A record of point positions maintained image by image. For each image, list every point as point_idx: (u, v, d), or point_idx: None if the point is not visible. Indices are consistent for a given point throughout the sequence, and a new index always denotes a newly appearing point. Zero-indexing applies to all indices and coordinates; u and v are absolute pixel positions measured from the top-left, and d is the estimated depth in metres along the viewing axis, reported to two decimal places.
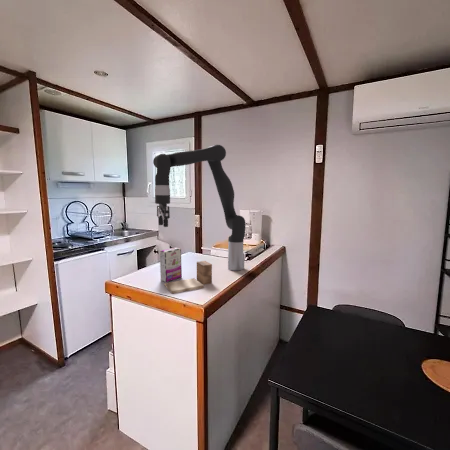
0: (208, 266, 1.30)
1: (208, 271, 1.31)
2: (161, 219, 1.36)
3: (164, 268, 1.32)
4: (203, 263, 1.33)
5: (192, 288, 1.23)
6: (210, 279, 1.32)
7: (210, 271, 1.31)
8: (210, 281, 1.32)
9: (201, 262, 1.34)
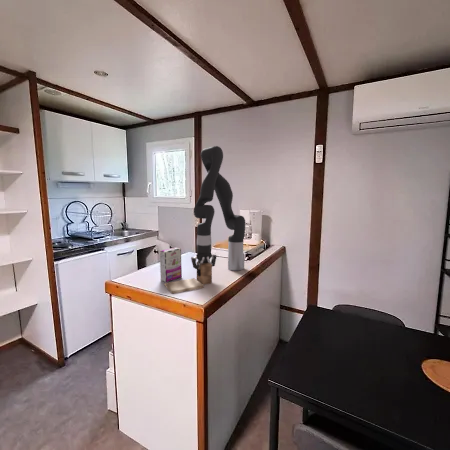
0: (208, 266, 1.30)
1: (208, 271, 1.31)
2: None
3: (164, 268, 1.32)
4: (203, 263, 1.33)
5: (192, 288, 1.23)
6: (210, 279, 1.32)
7: (210, 271, 1.31)
8: (210, 281, 1.32)
9: None
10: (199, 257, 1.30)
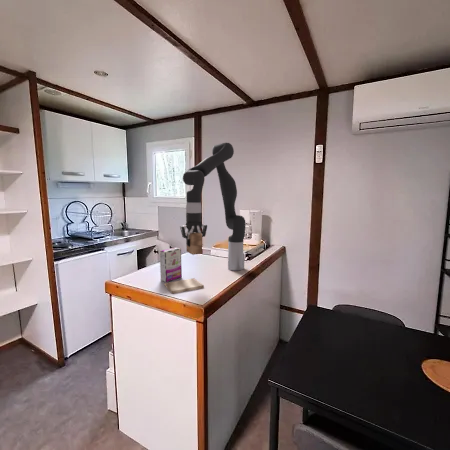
0: (198, 235, 1.24)
1: (198, 241, 1.24)
2: None
3: (164, 268, 1.32)
4: (193, 232, 1.26)
5: (192, 288, 1.23)
6: (200, 249, 1.25)
7: (200, 241, 1.24)
8: (200, 251, 1.25)
9: None
10: (188, 226, 1.24)
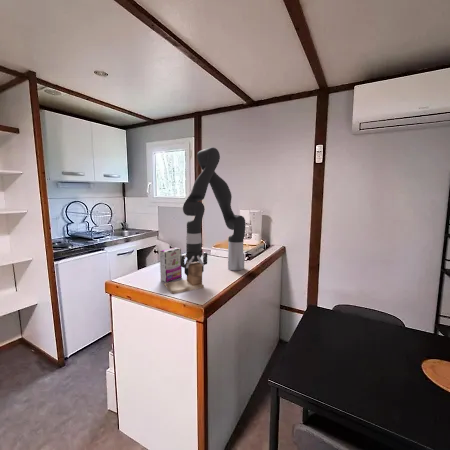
0: (198, 266, 1.25)
1: (198, 271, 1.26)
2: None
3: (164, 268, 1.32)
4: (193, 263, 1.28)
5: (192, 288, 1.23)
6: (200, 280, 1.27)
7: (200, 271, 1.26)
8: (200, 282, 1.27)
9: (191, 262, 1.30)
10: (188, 256, 1.25)
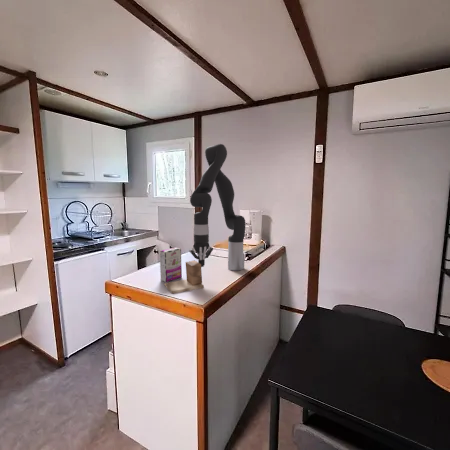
0: (197, 266, 1.25)
1: (197, 271, 1.25)
2: None
3: (164, 268, 1.32)
4: (192, 263, 1.28)
5: (192, 288, 1.23)
6: (200, 279, 1.27)
7: (199, 271, 1.26)
8: (200, 281, 1.27)
9: (190, 262, 1.29)
10: (196, 247, 1.27)
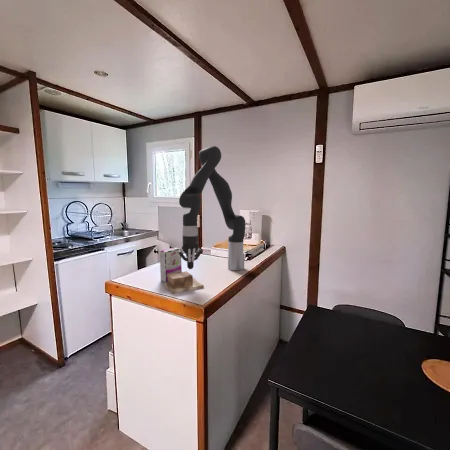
0: (174, 282, 1.20)
1: (180, 281, 1.21)
2: None
3: (164, 268, 1.32)
4: (170, 282, 1.23)
5: (192, 288, 1.23)
6: (188, 277, 1.23)
7: (180, 279, 1.21)
8: (190, 277, 1.24)
9: (169, 281, 1.25)
10: (185, 249, 1.24)
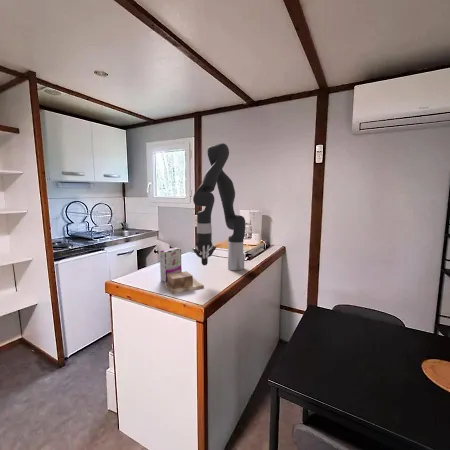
0: (174, 282, 1.20)
1: (180, 281, 1.21)
2: None
3: (164, 268, 1.32)
4: (170, 282, 1.23)
5: (192, 288, 1.23)
6: (188, 277, 1.23)
7: (180, 279, 1.21)
8: (190, 277, 1.24)
9: (169, 281, 1.25)
10: (199, 246, 1.28)
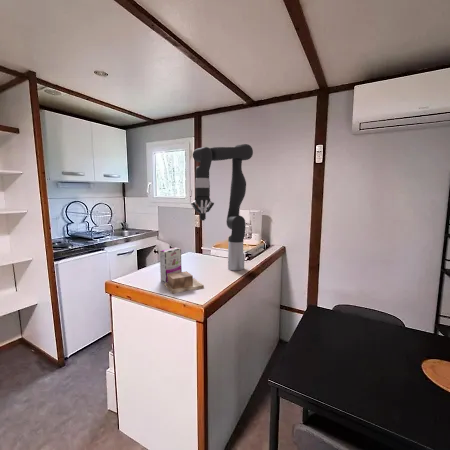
0: (174, 282, 1.20)
1: (180, 281, 1.21)
2: None
3: (164, 268, 1.32)
4: (170, 282, 1.23)
5: (192, 288, 1.23)
6: (188, 277, 1.23)
7: (180, 279, 1.21)
8: (190, 277, 1.24)
9: (169, 281, 1.25)
10: (198, 200, 1.31)
